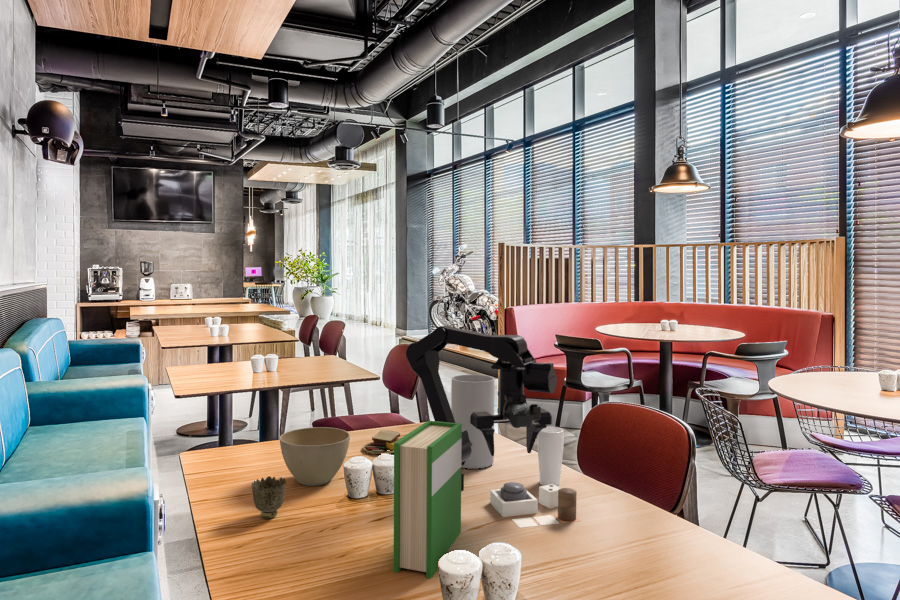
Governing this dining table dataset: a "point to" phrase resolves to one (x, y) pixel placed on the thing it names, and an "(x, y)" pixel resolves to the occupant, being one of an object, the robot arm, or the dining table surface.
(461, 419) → the cylinder vase
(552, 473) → the white tapered vase
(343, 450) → the deep taupe bowl
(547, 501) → the die
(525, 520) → the board
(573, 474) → the dining table surface
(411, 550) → the hardback book
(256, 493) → the cup
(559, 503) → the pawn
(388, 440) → the toy sandwich meal
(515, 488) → the popper button
